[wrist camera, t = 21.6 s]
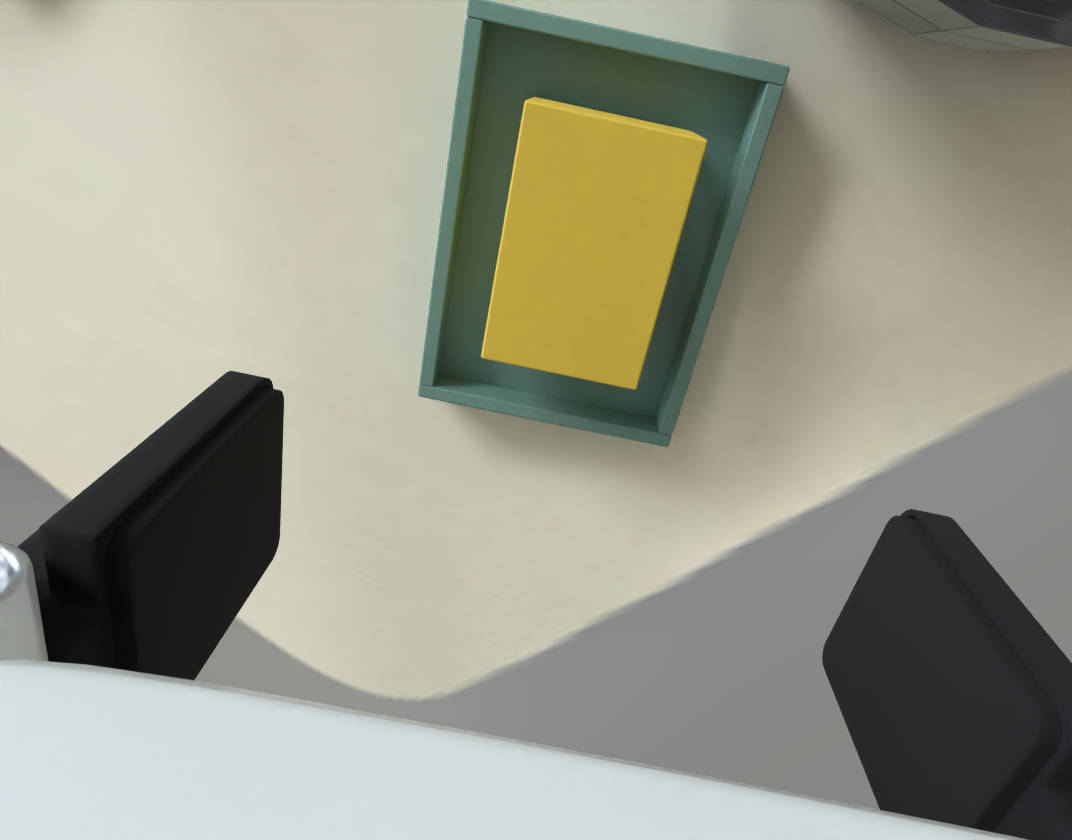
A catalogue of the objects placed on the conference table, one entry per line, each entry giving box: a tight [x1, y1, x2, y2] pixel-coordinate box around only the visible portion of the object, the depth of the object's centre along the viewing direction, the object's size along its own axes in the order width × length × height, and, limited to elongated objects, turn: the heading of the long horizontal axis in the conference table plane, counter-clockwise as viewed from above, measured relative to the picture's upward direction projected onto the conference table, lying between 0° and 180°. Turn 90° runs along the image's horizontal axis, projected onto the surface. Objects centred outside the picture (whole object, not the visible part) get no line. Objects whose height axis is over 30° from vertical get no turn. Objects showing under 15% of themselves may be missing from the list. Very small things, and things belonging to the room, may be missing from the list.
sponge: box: [481, 96, 707, 390], centre depth 26 cm, size 9×6×4 cm, turn 169°
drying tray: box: [418, 0, 790, 447], centre depth 28 cm, size 15×11×2 cm
